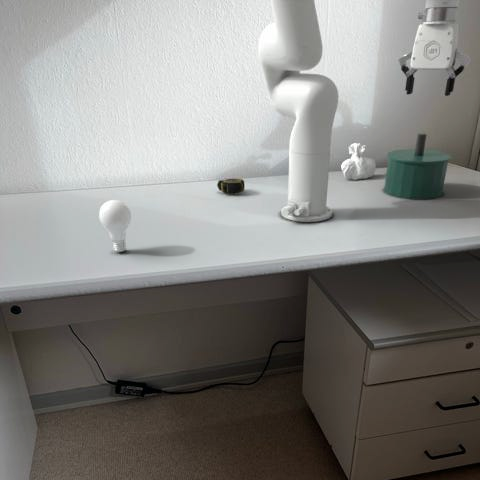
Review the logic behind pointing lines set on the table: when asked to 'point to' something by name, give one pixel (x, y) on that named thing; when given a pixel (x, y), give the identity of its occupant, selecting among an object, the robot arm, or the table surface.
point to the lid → (419, 154)
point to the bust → (358, 164)
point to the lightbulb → (116, 222)
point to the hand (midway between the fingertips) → (428, 94)
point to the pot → (415, 180)
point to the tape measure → (231, 186)
